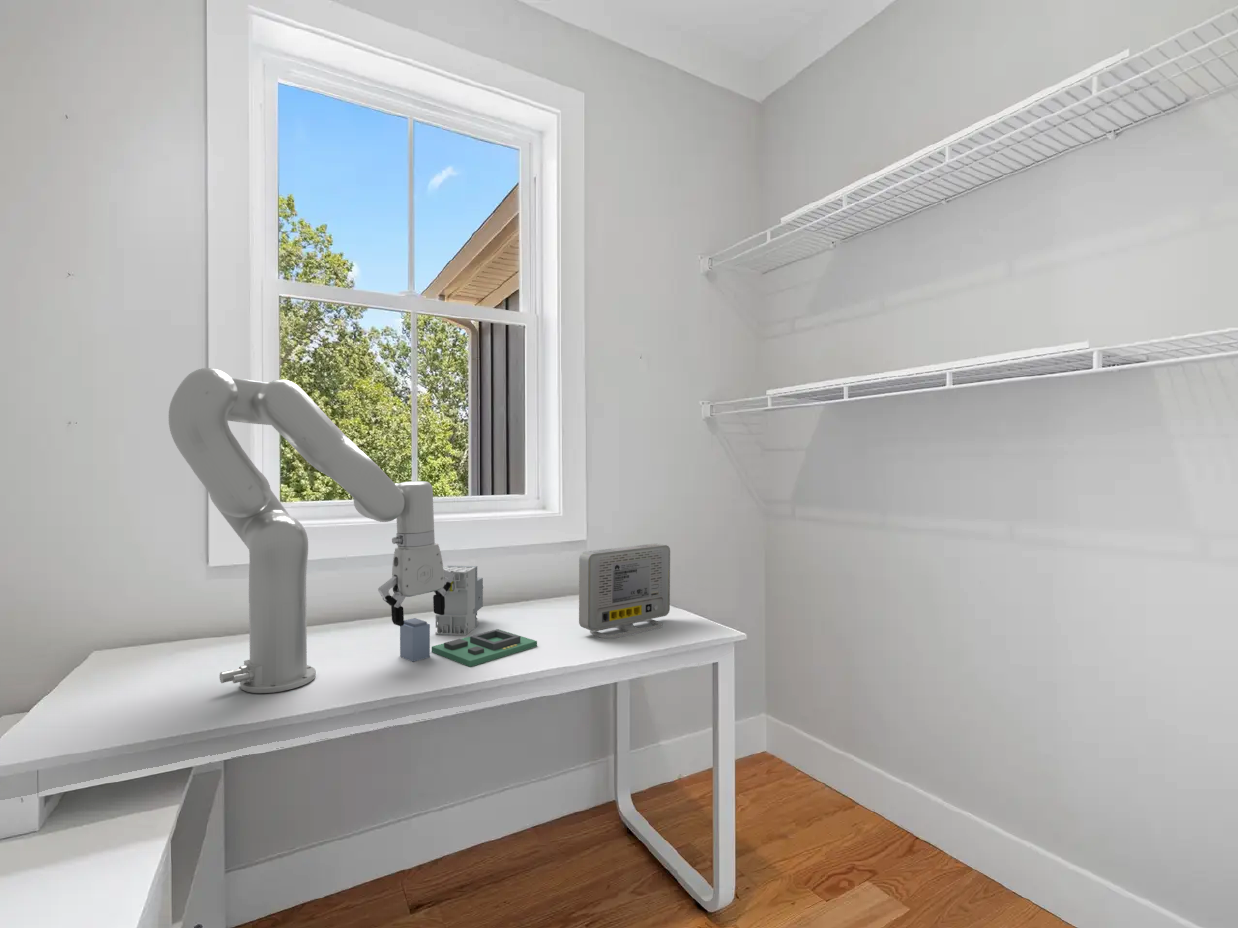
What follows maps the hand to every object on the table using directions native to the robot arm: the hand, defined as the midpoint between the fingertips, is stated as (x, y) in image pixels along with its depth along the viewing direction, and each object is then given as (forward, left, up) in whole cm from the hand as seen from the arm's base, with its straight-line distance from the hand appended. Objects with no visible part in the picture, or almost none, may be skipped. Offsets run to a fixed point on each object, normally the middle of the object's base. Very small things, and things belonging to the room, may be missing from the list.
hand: (419, 619), depth 135 cm
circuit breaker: (+19, +12, -8) cm, 24 cm away
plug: (-1, 0, -8) cm, 8 cm away
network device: (+45, -20, -8) cm, 50 cm away
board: (+12, -7, -8) cm, 16 cm away
